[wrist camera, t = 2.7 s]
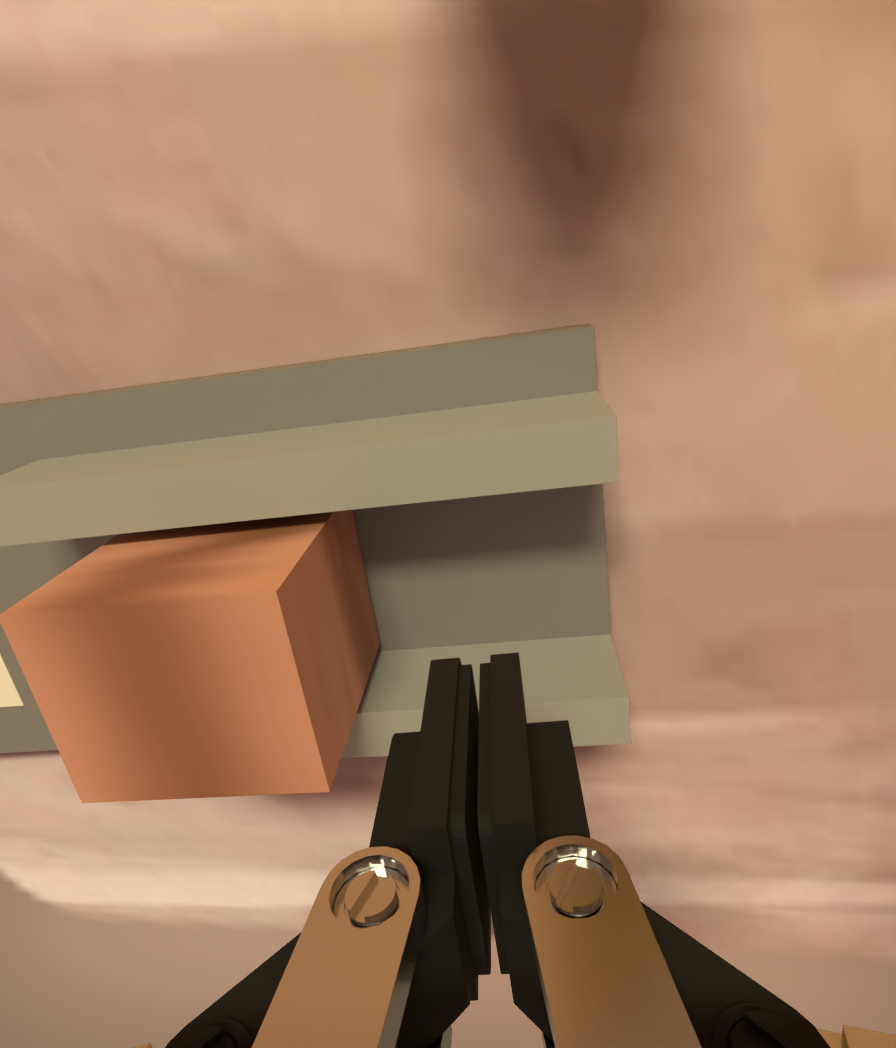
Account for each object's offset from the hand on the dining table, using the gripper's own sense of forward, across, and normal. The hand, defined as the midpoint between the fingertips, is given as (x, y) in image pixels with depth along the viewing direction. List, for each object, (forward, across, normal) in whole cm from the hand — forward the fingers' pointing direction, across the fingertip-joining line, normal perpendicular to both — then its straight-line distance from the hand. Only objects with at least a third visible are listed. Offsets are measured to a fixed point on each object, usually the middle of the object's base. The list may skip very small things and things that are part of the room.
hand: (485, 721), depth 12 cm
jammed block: (+7, +6, 0) cm, 9 cm away
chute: (+8, +8, 0) cm, 12 cm away
